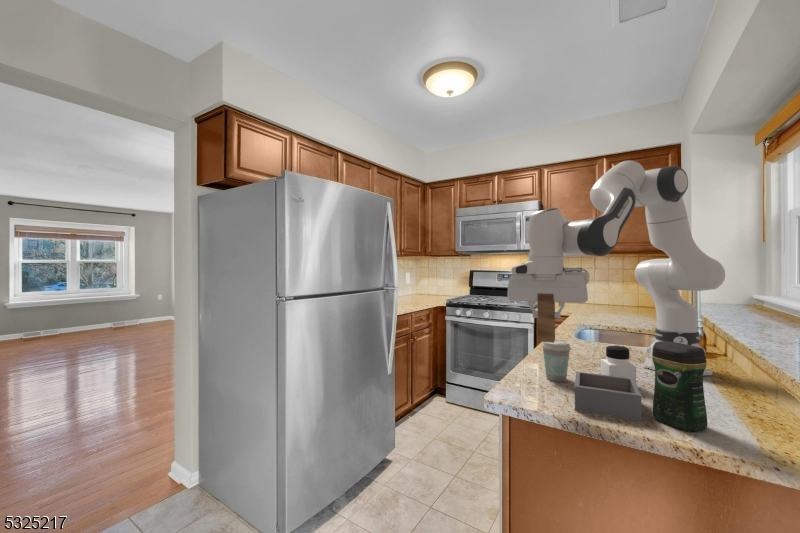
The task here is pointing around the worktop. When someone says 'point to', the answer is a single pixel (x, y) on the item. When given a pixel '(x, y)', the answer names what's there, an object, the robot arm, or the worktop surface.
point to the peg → (546, 317)
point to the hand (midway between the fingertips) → (546, 318)
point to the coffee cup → (556, 360)
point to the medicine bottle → (617, 362)
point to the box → (608, 395)
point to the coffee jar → (679, 385)
